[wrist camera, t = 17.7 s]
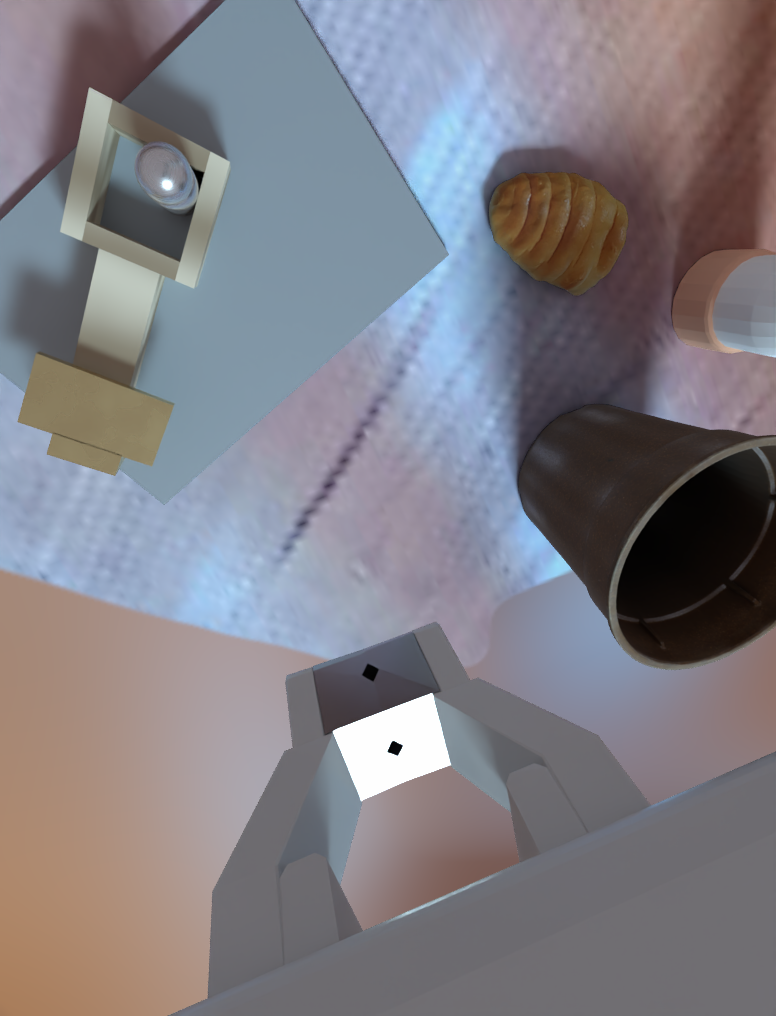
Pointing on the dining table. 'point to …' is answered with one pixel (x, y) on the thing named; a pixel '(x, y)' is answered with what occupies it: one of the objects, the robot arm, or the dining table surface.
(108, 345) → the link
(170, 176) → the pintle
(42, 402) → the block
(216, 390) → the board
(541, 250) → the pastry
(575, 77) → the dining table surface
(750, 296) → the salt shaker
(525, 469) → the plant pot
